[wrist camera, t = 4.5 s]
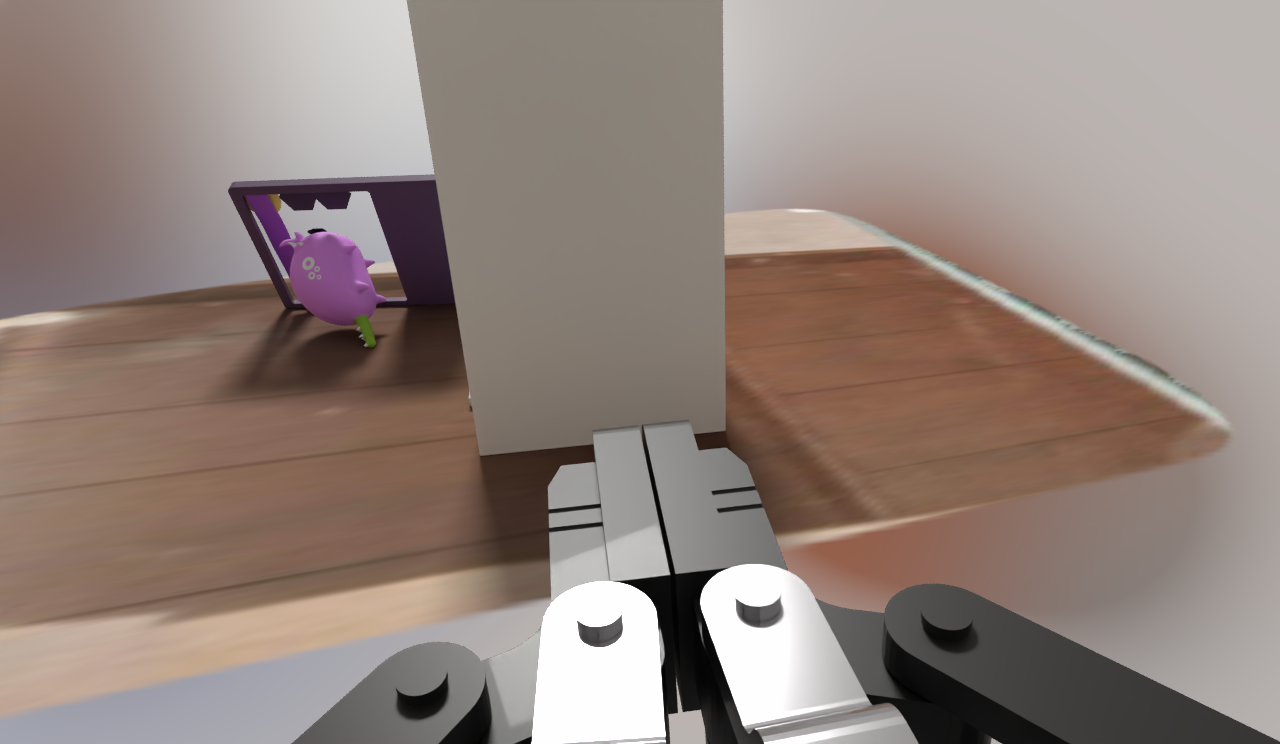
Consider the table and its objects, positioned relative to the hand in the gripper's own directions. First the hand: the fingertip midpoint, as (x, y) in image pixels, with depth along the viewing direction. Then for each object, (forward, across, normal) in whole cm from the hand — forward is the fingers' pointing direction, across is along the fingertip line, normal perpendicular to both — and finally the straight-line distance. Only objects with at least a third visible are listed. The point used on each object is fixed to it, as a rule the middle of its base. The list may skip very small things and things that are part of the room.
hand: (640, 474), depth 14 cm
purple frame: (+25, +10, +8) cm, 28 cm away
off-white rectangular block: (+14, 0, +8) cm, 16 cm away
